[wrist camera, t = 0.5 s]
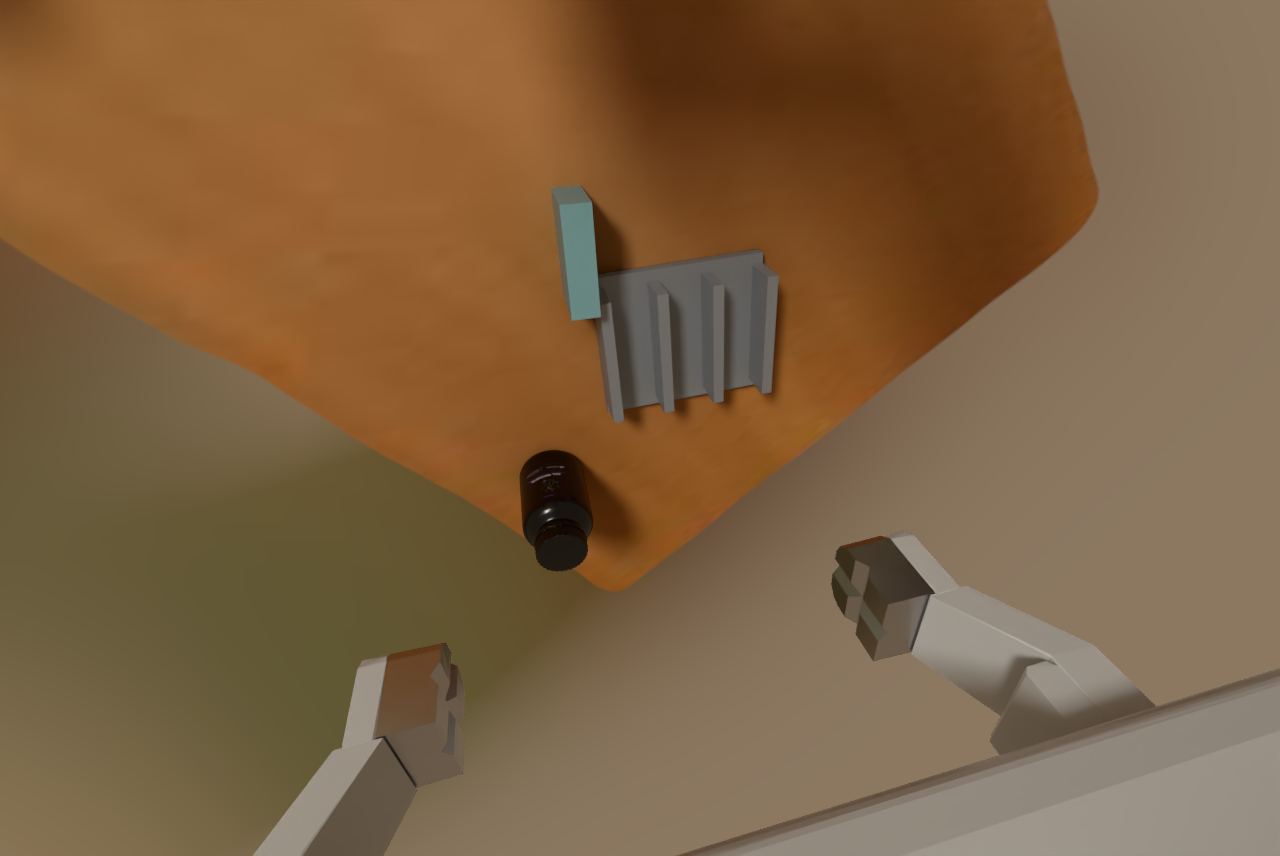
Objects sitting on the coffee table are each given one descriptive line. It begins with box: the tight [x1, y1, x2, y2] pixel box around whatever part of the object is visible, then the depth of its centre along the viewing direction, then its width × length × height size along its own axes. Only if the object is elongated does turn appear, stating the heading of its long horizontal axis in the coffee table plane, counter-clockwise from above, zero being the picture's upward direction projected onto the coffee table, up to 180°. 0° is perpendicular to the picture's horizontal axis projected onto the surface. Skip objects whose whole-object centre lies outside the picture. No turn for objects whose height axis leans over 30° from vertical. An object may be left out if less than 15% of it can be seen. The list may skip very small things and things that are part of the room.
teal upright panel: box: [551, 186, 601, 321], centre depth 46 cm, size 9×2×6 cm, turn 2°
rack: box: [595, 249, 779, 423], centre depth 54 cm, size 14×16×4 cm
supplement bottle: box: [520, 450, 593, 571], centre depth 57 cm, size 7×7×12 cm
